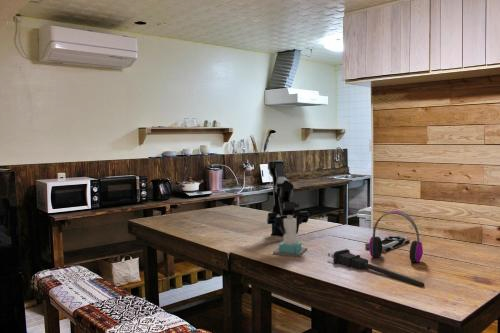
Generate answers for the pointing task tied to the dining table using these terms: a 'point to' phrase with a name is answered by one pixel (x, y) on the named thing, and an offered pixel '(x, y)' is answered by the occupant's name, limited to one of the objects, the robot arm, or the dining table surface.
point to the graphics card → (391, 242)
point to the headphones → (415, 246)
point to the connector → (290, 231)
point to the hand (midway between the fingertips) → (290, 233)
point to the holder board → (290, 250)
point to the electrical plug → (367, 265)
